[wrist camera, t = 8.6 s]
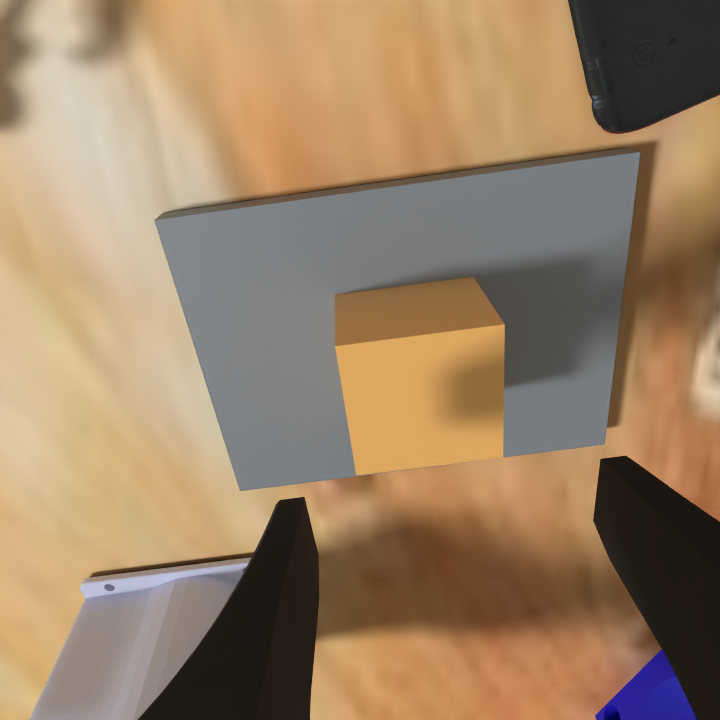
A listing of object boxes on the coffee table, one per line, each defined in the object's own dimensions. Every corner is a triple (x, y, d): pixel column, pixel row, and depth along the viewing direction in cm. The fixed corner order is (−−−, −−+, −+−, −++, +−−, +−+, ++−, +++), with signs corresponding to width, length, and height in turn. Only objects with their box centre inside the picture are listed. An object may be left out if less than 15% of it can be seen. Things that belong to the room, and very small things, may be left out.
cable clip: (649, 722, 37) (701, 831, 32) (593, 712, 36) (638, 823, 31) (767, 615, 31) (854, 725, 26) (705, 600, 31) (783, 711, 25)
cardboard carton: (352, 409, 22) (356, 475, 18) (334, 294, 19) (335, 346, 16) (475, 393, 21) (503, 457, 18) (473, 276, 19) (504, 324, 16)
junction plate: (243, 475, 24) (230, 535, 21) (162, 212, 18) (129, 242, 15) (594, 430, 24) (633, 484, 21) (625, 147, 18) (685, 164, 15)
